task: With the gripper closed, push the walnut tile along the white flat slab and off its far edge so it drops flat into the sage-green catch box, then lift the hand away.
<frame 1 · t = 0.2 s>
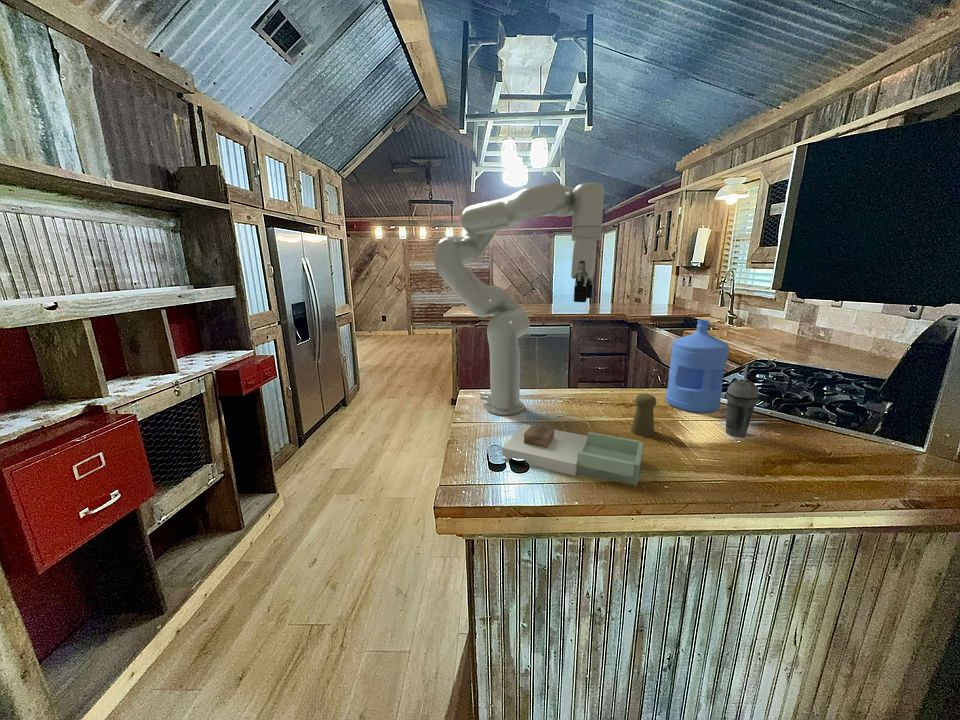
hand: (583, 299, 104), 36 cm above the countertop, tool pointing down, fingers open, 9 cm apart
beverage cup: (735, 434, 104), on the countertop
white flat slab: (546, 452, 96), on the countertop
water jug: (691, 404, 125), on the countertop
walnut tile: (539, 440, 96), point 3 cm above the countertop, touching white flat slab
catch box: (609, 466, 89), on the countertop
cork: (642, 432, 106), on the countertop
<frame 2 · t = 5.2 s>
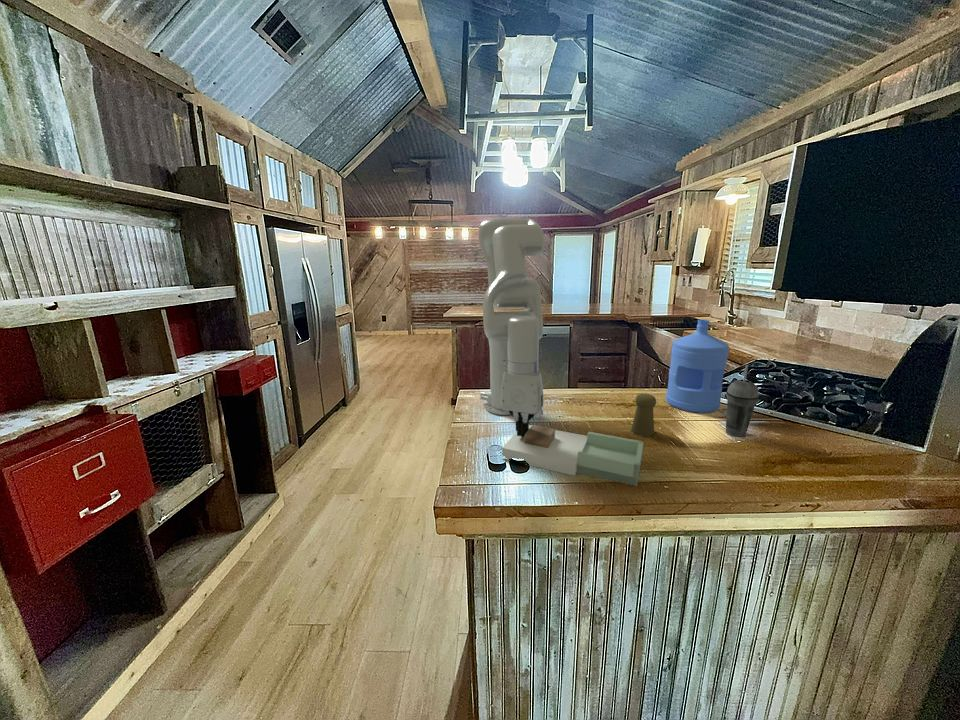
hand: (522, 434, 98), 4 cm above the countertop, tool pointing down, fingers closed
walnut tile: (539, 440, 96), point 3 cm above the countertop, touching gripper
everything else where it was.
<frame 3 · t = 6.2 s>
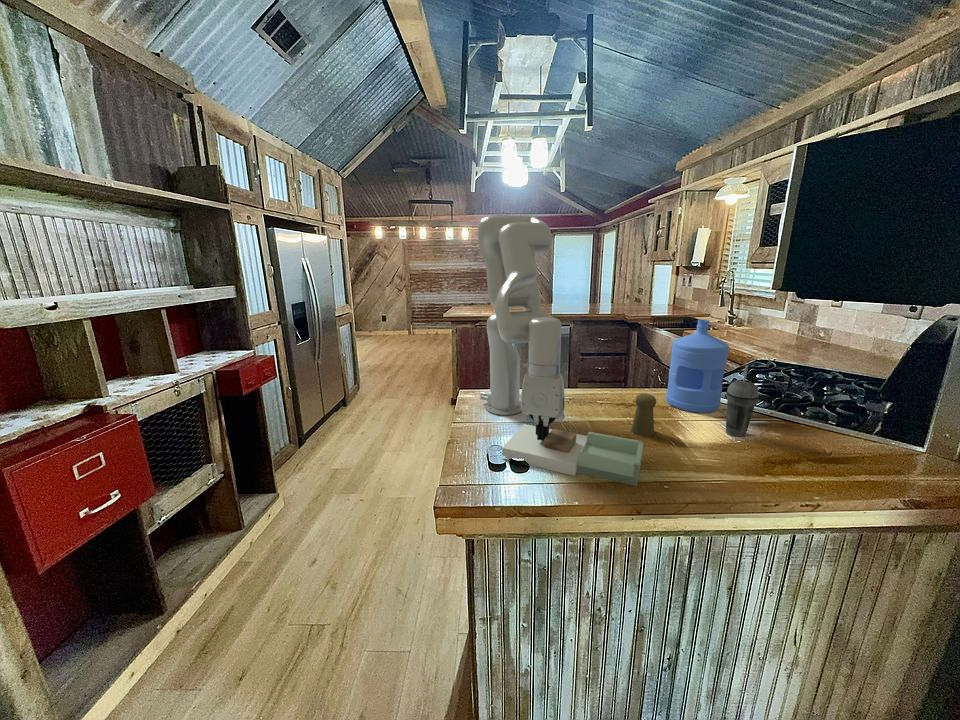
hand: (542, 438, 96), 4 cm above the countertop, tool pointing down, fingers closed
walnut tile: (560, 445, 94), point 3 cm above the countertop, touching white flat slab, gripper
everything else where it was.
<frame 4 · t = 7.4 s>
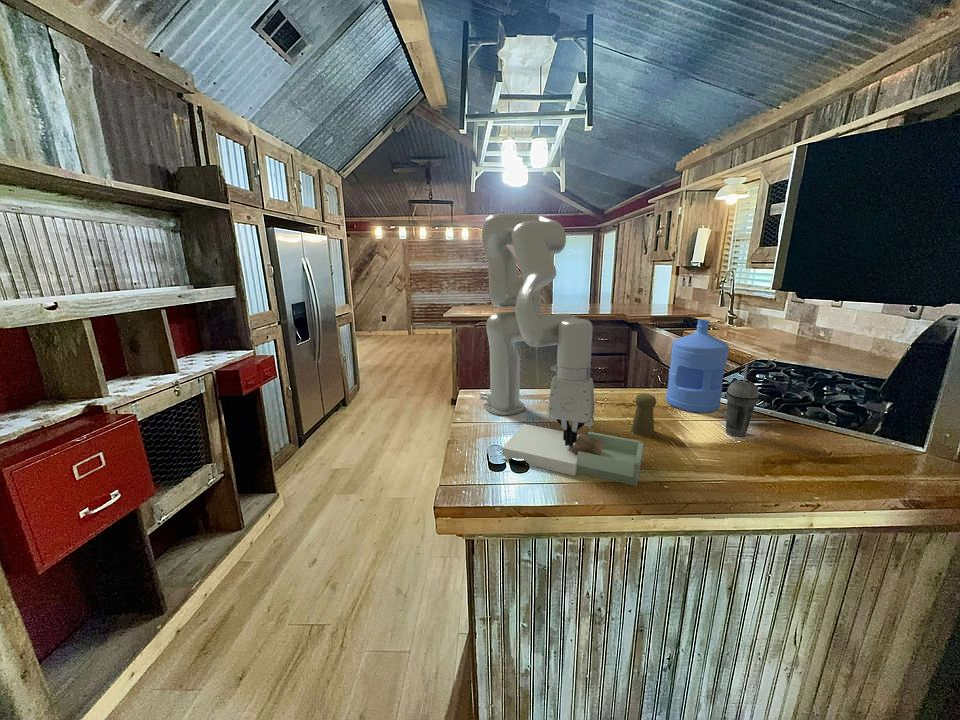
hand: (569, 443, 93), 4 cm above the countertop, tool pointing down, fingers closed
walnut tile: (586, 451, 91), point 3 cm above the countertop, tilted 14°, touching gripper
everything else where it was.
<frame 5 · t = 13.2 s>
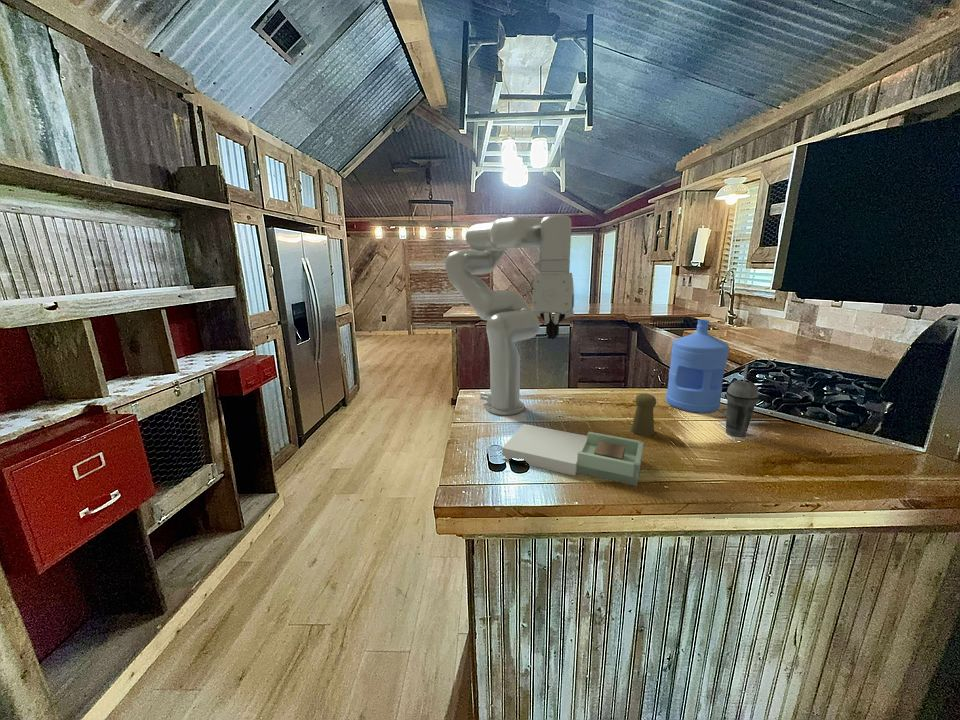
hand: (552, 337, 101), 27 cm above the countertop, tool pointing down, fingers closed
walnut tile: (608, 458, 89), point 2 cm above the countertop, touching catch box
everything else where it was.
at the end: walnut tile inside the target area (0.9 cm from its centre), point 2.0 cm above the countertop; walnut tile tilted 0°; walnut tile touching catch box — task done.
